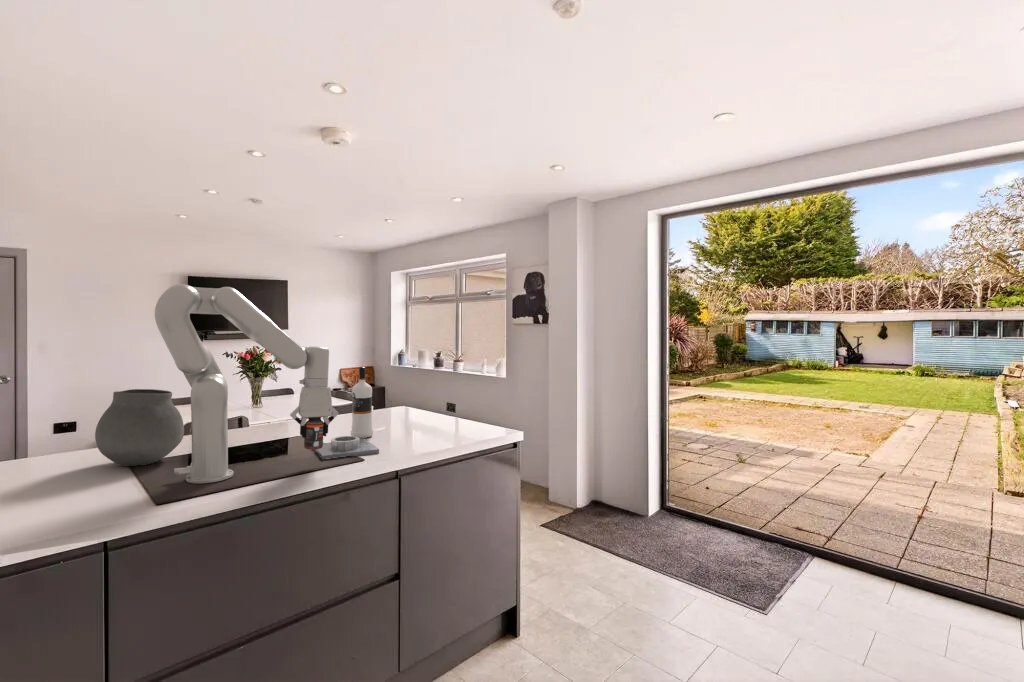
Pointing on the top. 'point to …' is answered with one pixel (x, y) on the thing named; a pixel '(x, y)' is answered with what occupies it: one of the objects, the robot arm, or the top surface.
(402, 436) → the top surface
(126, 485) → the top surface
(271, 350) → the robot arm
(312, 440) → the supplement bottle
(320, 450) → the duct plate
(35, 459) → the top surface
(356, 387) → the vodka
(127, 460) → the ceramic pot
